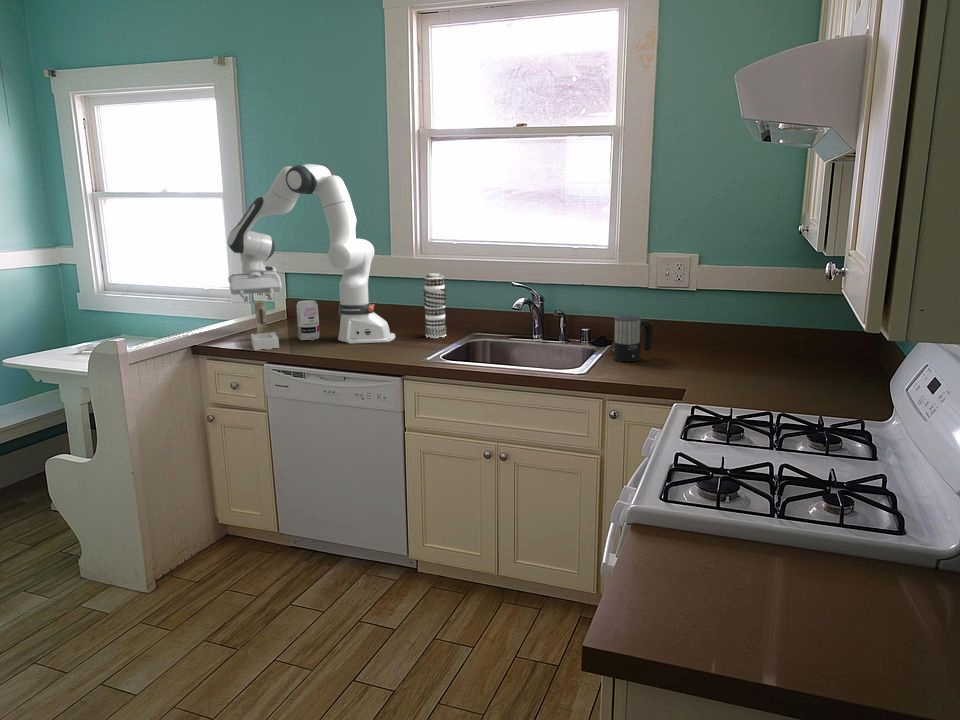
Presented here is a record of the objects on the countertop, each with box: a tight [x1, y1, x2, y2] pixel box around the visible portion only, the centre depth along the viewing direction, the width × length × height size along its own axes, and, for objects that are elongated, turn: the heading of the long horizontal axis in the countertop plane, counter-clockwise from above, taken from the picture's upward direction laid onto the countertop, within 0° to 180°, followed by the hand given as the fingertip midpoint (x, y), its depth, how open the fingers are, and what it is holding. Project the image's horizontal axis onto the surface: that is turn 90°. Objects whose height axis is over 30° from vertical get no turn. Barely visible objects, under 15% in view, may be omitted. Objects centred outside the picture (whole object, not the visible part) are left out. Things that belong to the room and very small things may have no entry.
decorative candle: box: [422, 272, 447, 339], centre depth 300 cm, size 9×9×25 cm
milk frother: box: [611, 314, 654, 362], centre depth 261 cm, size 14×16×15 cm
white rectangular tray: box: [250, 331, 280, 351], centre depth 287 cm, size 12×9×4 cm
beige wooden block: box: [254, 300, 268, 334], centre depth 300 cm, size 4×5×15 cm
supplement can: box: [295, 299, 321, 341], centre depth 298 cm, size 8×8×15 cm
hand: (258, 300), depth 305 cm, fingers open, 8 cm apart
